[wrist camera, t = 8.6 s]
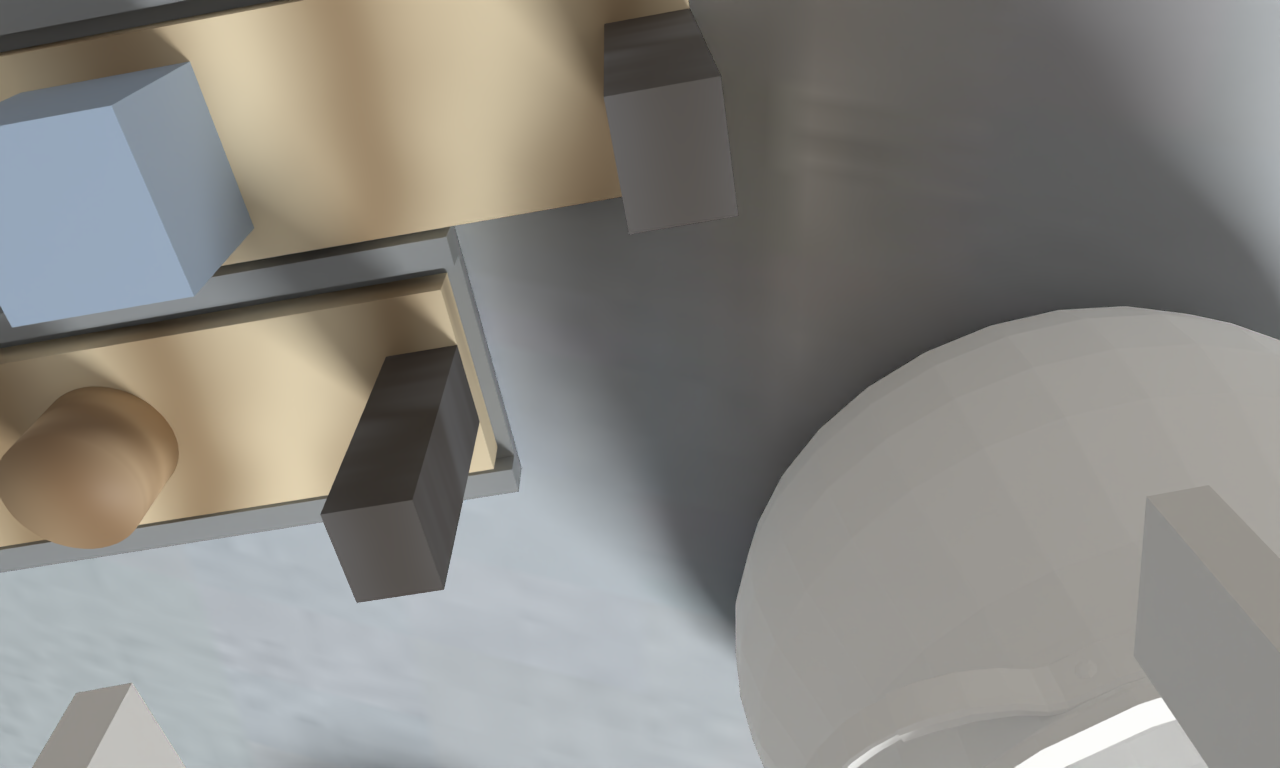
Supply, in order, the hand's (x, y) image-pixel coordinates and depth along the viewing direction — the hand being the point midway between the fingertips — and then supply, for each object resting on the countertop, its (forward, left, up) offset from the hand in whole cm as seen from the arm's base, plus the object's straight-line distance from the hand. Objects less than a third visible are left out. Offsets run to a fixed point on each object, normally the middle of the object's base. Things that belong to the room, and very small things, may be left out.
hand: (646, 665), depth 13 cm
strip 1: (-8, +3, -21) cm, 23 cm away
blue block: (-14, +3, -19) cm, 24 cm away
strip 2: (-17, -6, -21) cm, 28 cm away
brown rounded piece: (-19, -6, -19) cm, 28 cm away
